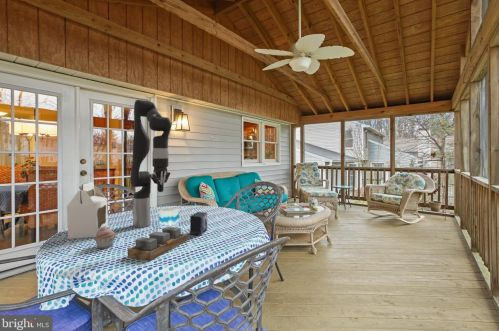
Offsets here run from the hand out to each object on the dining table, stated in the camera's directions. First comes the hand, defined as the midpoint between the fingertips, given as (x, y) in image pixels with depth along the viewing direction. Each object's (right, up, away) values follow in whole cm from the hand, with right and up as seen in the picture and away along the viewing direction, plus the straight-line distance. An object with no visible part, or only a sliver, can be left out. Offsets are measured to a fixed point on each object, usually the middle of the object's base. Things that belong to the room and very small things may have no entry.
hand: (160, 191), depth 133 cm
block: (+3, -25, -10) cm, 26 cm away
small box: (+16, -25, +15) cm, 33 cm away
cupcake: (-24, -26, -7) cm, 36 cm away
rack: (+3, -26, -9) cm, 27 cm away
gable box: (-45, -25, +16) cm, 54 cm away
